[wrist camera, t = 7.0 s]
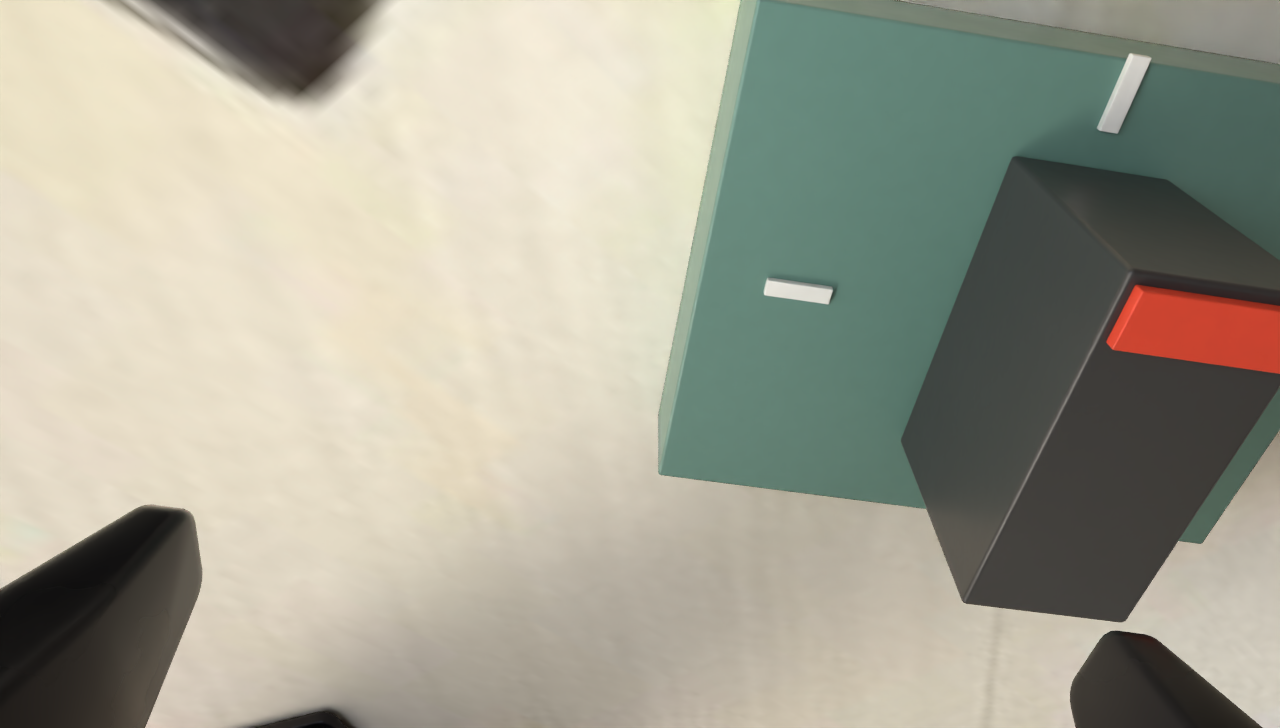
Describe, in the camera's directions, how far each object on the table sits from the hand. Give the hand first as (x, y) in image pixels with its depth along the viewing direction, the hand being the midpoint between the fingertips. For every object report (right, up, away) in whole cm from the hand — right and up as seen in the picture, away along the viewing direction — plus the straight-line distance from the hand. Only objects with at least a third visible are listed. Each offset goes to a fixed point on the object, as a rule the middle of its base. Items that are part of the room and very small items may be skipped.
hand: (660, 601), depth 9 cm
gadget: (+8, +3, +10) cm, 13 cm away
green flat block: (+8, +5, +12) cm, 15 cm away
